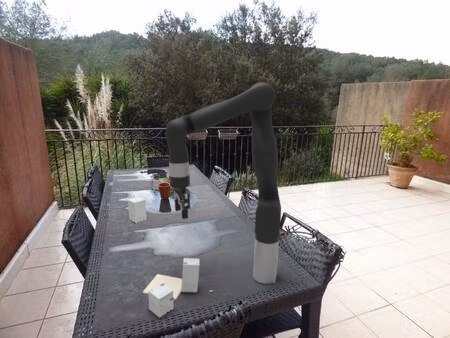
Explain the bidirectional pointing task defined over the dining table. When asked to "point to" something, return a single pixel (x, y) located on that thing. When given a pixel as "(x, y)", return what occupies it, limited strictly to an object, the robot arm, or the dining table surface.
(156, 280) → the mat
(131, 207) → the supplement box
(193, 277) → the skincare box
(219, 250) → the dining table surface
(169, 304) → the skincare box
